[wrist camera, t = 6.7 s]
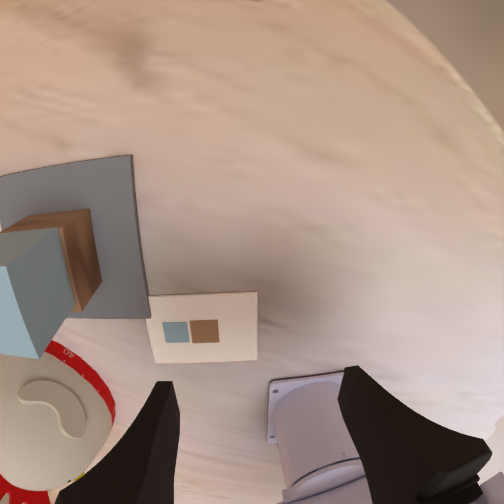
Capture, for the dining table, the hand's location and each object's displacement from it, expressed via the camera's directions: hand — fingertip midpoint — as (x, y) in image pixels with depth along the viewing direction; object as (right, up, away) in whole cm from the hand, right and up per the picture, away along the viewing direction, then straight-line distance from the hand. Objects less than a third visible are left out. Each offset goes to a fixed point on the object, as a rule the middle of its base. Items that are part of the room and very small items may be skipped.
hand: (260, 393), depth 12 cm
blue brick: (-13, +5, +2) cm, 14 cm away
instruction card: (-4, 0, +10) cm, 11 cm away
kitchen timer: (-20, -7, +12) cm, 24 cm away
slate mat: (-13, +6, +7) cm, 16 cm away
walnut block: (-13, +6, +6) cm, 16 cm away
